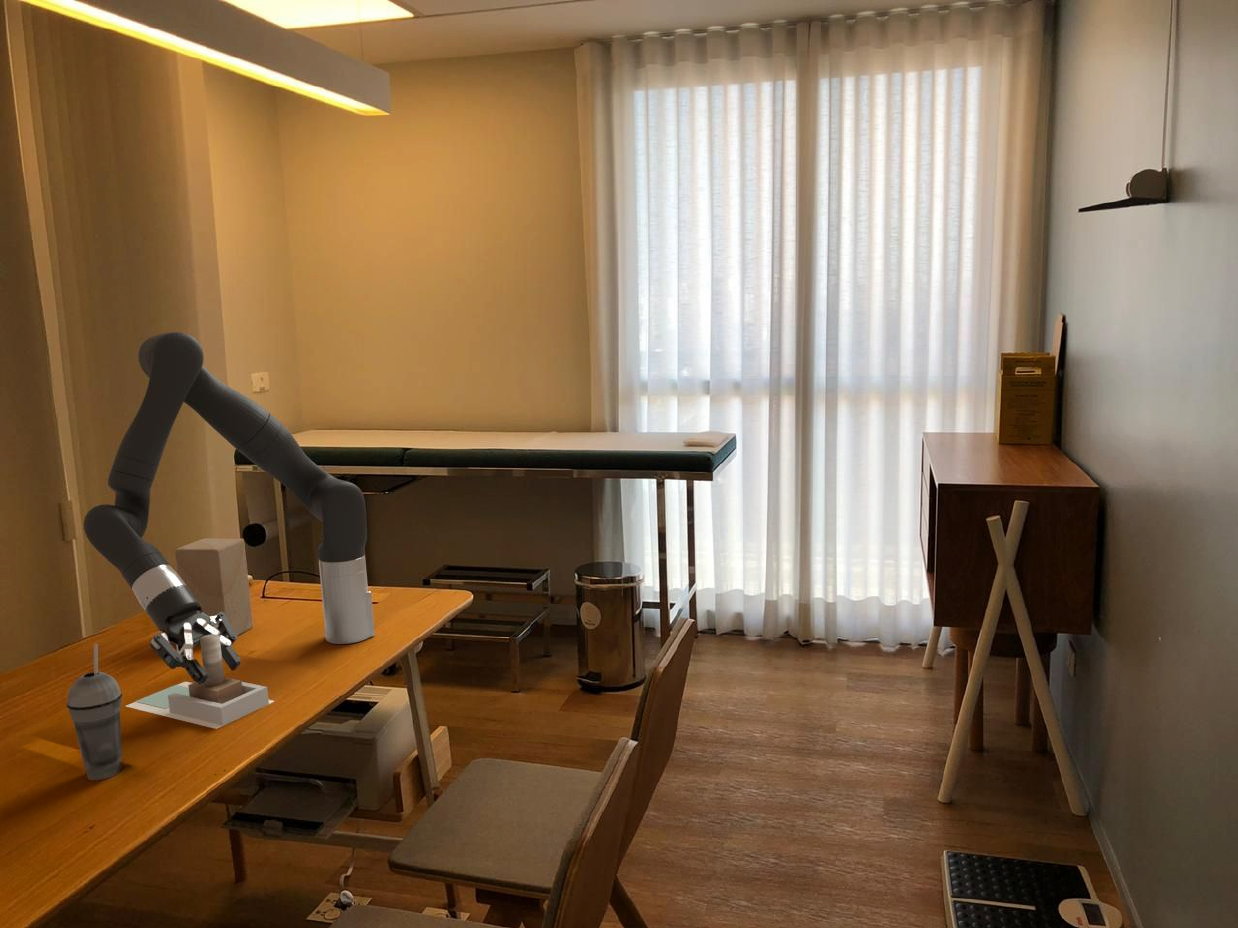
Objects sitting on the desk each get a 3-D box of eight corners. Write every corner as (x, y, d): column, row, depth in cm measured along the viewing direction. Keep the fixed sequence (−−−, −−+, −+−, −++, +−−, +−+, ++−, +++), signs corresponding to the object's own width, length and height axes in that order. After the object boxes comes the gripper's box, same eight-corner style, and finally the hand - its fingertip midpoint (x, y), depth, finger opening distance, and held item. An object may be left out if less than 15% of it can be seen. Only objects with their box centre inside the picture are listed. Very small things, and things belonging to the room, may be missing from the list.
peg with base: (243, 703, 164) (236, 635, 162) (219, 714, 160) (211, 644, 158) (215, 696, 168) (208, 630, 166) (190, 707, 163) (182, 639, 161)
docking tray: (275, 709, 166) (273, 684, 165) (217, 737, 156) (214, 710, 155) (186, 689, 177) (183, 665, 176) (125, 714, 166) (122, 689, 166)
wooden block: (227, 642, 202) (216, 549, 199) (184, 641, 204) (173, 549, 201) (254, 627, 212) (244, 537, 209) (213, 626, 214) (203, 537, 211)
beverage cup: (90, 763, 148) (73, 637, 145) (139, 759, 149) (123, 634, 145) (67, 786, 141) (49, 654, 138) (119, 782, 141) (102, 651, 138)
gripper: (136, 596, 158) (192, 676, 154) (210, 573, 170) (264, 647, 167) (119, 623, 161) (174, 702, 157) (193, 599, 174) (246, 672, 170)
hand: (220, 673), depth 162 cm, fingers open, 6 cm apart
